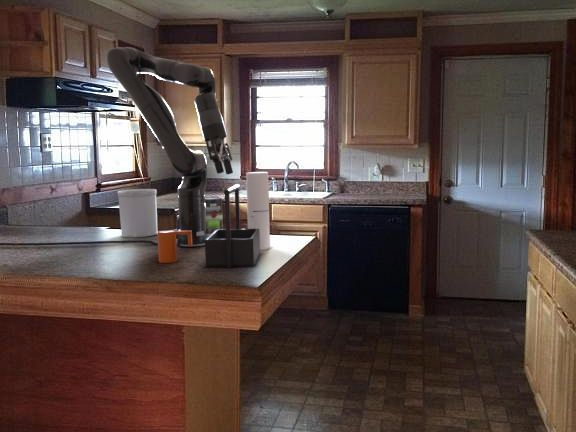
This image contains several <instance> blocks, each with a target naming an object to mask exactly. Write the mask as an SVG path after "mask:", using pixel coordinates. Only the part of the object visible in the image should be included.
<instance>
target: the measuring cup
mask: <svg viewBox="0 0 576 432" xmlns="http://www.w3.org/2000/svg"><path fill="white" fill-rule="evenodd" d="M173 230H174V229H171V230H168V229H167V230H159V231H157V234H156V235H157V243H158V245H157V253H158V254H157V255H158V263H160V264H173V263H176V262H178V251H177V248H178V246H177V239H176V235H188V247H187V248H191V247H190V246H192V231H191V230H190V231H173Z"/></svg>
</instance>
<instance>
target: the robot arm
mask: <svg viewBox="0 0 576 432" xmlns="http://www.w3.org/2000/svg"><path fill="white" fill-rule="evenodd" d="M105 59H106V63H107V66H108V69H109V71H110V72H111V74H112V75H113V76H114V77H115V78H116V80H117V81H118V83H119V84H120V85H121V86H122V87H123V89H124V90H125V91H126V93H127V94H128V95H129V97H130V99H131V100H132V102H133V103H134V105H135V106H136V107H137V109H138V111H139V113H140V115H141V116H142V118H143V119H144V121H145V122H146V123H147V126H149V128H150V129H151V131H152V133H153V134H154V136H155V137H156V138H157V140H158V142H159V143H160V145H161V147H162V149H163V150H164V152H165V154H166V157H167V158H168V160H169V162H170V165H171V167H172V168H173V169H174V171H175V172H176V173H177V174H179V175H180V176H181V178H182V179H181V184H180V185H179V186H178V188H177V206H178V217H177V218H176V220H175V223H176V228H174V229H172V230H173V231H190V230H191V231H192V246H190V247H188V235H176V246H177V247H183V248H197V247H199V248H200V247H205V239H206V238H207V237H208V236H207V234H206V207H205V197H206V190H207V189H206V188H207V184H208V164H207V157H206V156H205V154H204V152H203V151H202V150H201V149H198V148H190V147H188V145H187V144H186V143H185V141H184V139H182V137H181V135H180V134H179V132H178V129H177V124H176V121H175V116H174V114H173V111H172V110H171V107H170V106H169V105H168V103H167V102H166V100H165V98H164V97H163V96H162V95H161V94H160V93H159V92H158V91H156V89H154V88H153V87H151V86H150V85H149V84H147V83H146V82H145V81H144V80H143V79H142V78H140V76H139V75H138V74H149V75H152V76H155V77H156V78H157V79H159V80H163V81H166V82H170V83H175V84H181V85H183V86H187V87H191V88H195V89H198V94H197V95H196V96H195V97H194V105H195V108H196V112H197V116H198V123H199V126H200V130H201V133H202V137H203V141H204V142H205V145H206V150H207V153H208V157H209V160H210V161H212V162H213V163H214V167H215V172H216V174H223V173H224V172H225V174H226V175H231V174H233V173H234V170H233V166H232V163H231V162H232V161H233V157H232V153H231V150H230V147H229V144H228V142H224V139H226V138H227V136H228V133H227V130H226V126H225V122H224V119H223V116H222V113H221V111H220V107H219V105H218V100H217V97H216V95H217V93H216V92H217V91H216V78H215V75H214V73H213V71H212V69H210V68H209V67H207V66H203V65H198V64H192V63H185V62H182V61H179V60H174V59H169V58H163V57H158V56H155V55H151V54H149V53H146V52H144V51H141V50H139V49H138V48H134V47H131V46H123V47H121V46H117V47H113V48H110V49H109V50H108V51H107V53H106V58H105ZM143 243H145V244H152V245H155V246H158V242H156V241H154V240H149V239H148V240H146V239H141V240H140V239H137V240H136V239H135V240H134V239H133V240H97V241H96V240H92V241H89V240H88V241H64V242H63V241H61V242H59V241H58V242H0V246H64V245H65V246H67V245H68V246H69V245H71V246H72V245H97V244H98V245H99V244H143Z"/></svg>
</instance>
